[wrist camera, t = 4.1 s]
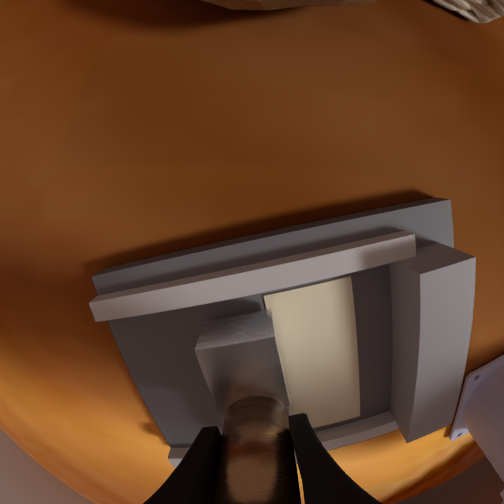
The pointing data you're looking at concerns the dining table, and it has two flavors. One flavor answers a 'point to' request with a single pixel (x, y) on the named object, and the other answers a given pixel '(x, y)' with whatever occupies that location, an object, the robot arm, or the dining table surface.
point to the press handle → (250, 410)
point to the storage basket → (475, 9)
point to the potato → (280, 3)
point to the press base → (308, 321)
